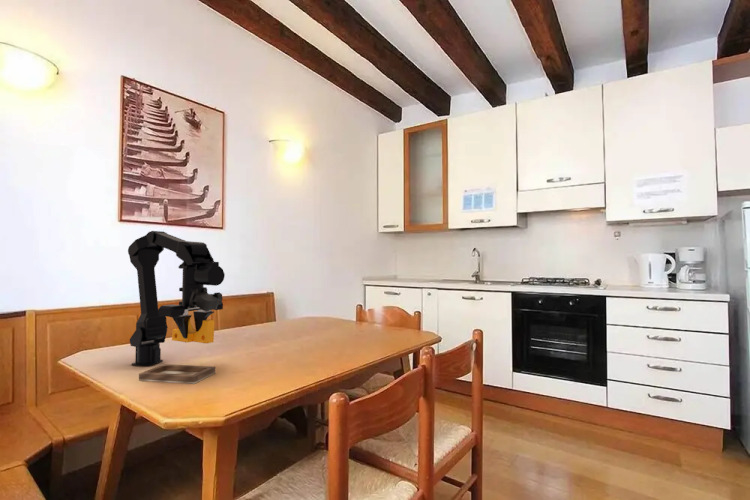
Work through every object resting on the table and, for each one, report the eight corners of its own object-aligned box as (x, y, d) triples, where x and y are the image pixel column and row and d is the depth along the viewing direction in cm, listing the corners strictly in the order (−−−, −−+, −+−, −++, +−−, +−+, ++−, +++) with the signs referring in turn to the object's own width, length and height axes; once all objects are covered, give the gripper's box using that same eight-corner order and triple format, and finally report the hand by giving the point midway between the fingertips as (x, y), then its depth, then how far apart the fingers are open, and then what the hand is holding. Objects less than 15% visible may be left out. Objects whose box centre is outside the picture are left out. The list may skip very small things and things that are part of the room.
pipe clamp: (171, 340, 116) (173, 318, 116) (184, 338, 120) (185, 316, 120) (201, 344, 111) (202, 321, 111) (213, 342, 115) (214, 320, 115)
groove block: (138, 380, 108) (138, 373, 108) (163, 370, 118) (163, 364, 118) (194, 383, 106) (194, 376, 106) (215, 373, 116) (215, 366, 116)
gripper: (186, 287, 104) (185, 346, 104) (236, 283, 121) (235, 333, 121) (157, 285, 108) (156, 342, 108) (210, 282, 125) (209, 330, 125)
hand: (192, 336), depth 115 cm, fingers closed on pipe clamp, 4 cm apart
